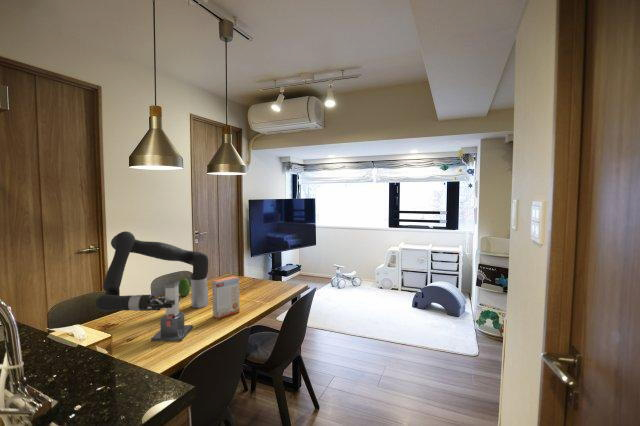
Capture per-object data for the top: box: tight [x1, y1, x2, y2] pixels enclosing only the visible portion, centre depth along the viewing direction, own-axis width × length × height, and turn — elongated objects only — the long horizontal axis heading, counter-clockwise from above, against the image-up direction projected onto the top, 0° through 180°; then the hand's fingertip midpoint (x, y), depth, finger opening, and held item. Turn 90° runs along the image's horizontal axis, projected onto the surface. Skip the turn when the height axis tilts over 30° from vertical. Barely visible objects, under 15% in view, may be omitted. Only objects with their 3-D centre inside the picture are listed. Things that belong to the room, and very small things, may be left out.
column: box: [163, 280, 180, 317], centre depth 149 cm, size 6×4×24 cm
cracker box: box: [211, 275, 241, 320], centre depth 174 cm, size 14×6×21 cm, turn 134°
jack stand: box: [150, 311, 193, 342], centre depth 149 cm, size 14×14×10 cm
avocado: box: [178, 278, 191, 297], centre depth 206 cm, size 8×8×12 cm
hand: (176, 302), depth 148 cm, fingers open, 8 cm apart
